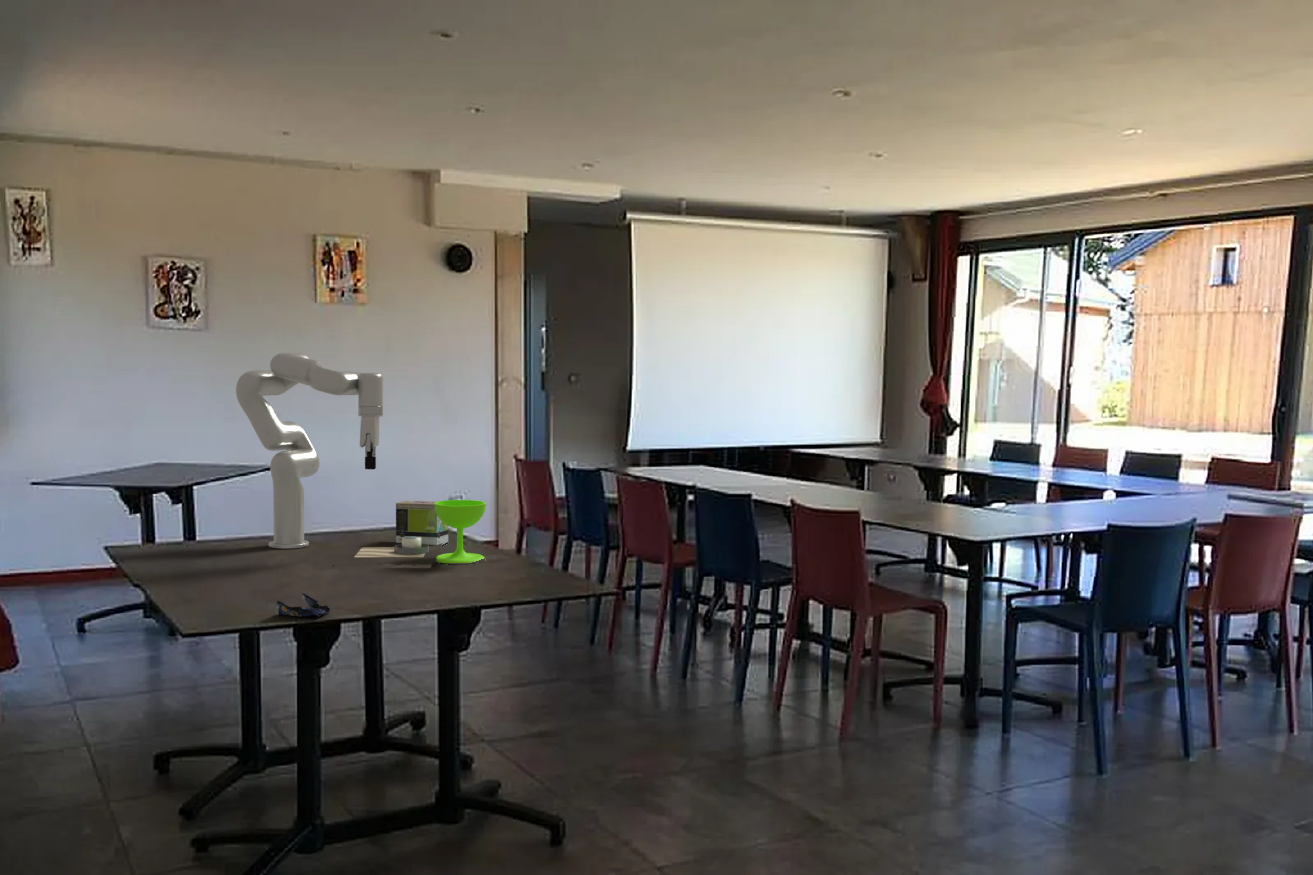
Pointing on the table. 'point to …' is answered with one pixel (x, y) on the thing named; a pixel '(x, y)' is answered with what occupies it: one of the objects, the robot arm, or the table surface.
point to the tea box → (420, 522)
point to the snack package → (311, 610)
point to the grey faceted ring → (411, 550)
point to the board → (381, 552)
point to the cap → (411, 542)
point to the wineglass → (459, 525)
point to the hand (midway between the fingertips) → (370, 469)
